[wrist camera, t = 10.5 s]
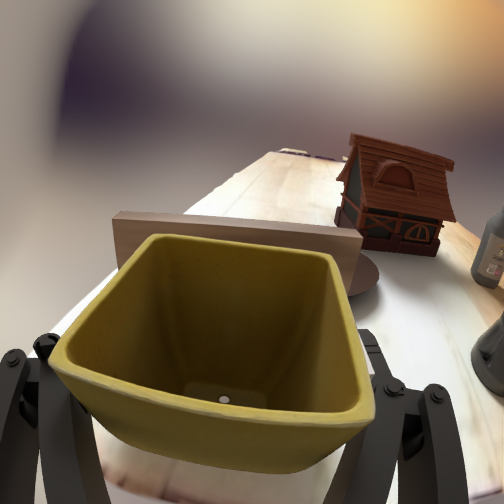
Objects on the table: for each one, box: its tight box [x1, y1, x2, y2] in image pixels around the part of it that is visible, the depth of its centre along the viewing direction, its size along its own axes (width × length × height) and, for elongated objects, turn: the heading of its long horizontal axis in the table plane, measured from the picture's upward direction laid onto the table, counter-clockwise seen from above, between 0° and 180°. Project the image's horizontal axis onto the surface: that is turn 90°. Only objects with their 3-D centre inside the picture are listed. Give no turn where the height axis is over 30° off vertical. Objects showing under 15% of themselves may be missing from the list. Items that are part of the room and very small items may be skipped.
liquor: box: [471, 205, 504, 289], centre depth 54 cm, size 9×9×30 cm
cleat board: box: [112, 211, 363, 403], centre depth 28 cm, size 15×22×20 cm
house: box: [334, 133, 456, 257], centre depth 74 cm, size 35×28×29 cm
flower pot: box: [48, 234, 376, 474], centre depth 11 cm, size 9×9×9 cm
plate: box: [347, 253, 379, 297], centre depth 58 cm, size 28×28×4 cm
